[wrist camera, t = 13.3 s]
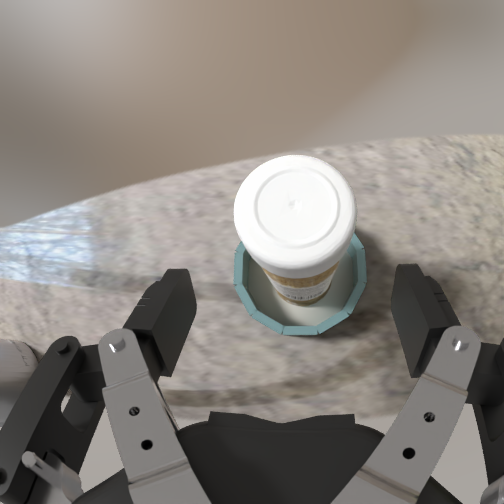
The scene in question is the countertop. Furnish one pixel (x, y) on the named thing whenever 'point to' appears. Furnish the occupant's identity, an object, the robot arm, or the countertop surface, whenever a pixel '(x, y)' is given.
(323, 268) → the sprinkles bottle
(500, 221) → the countertop surface
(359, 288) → the teal bowl
